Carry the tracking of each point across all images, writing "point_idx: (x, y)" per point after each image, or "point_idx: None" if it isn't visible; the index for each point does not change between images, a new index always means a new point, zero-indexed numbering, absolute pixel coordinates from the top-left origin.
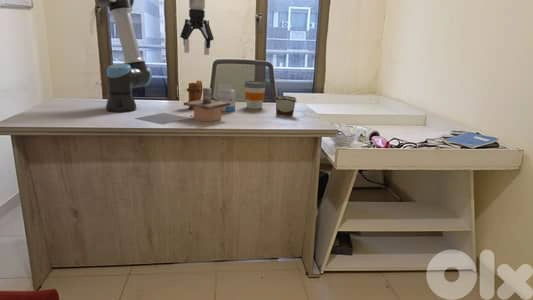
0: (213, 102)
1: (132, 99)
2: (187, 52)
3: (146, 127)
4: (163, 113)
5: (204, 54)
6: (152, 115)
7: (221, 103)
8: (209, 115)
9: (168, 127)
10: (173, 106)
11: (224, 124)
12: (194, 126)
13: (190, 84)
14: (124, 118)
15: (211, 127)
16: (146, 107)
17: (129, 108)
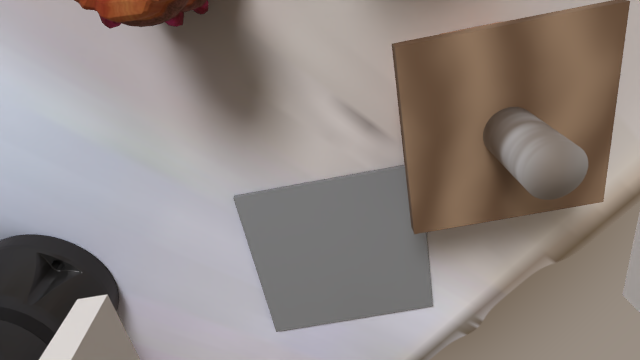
0: (532, 91)
1: (62, 298)
2: (123, 331)
3: (416, 347)
4: (246, 206)
5: (632, 297)
6: (263, 261)
7: (595, 71)
8: None
9: (469, 301)
10: (39, 30)
11: None
12: (531, 228)
13: (130, 20)
14: (240, 343)
15: None
16: (24, 178)
17: (110, 294)
